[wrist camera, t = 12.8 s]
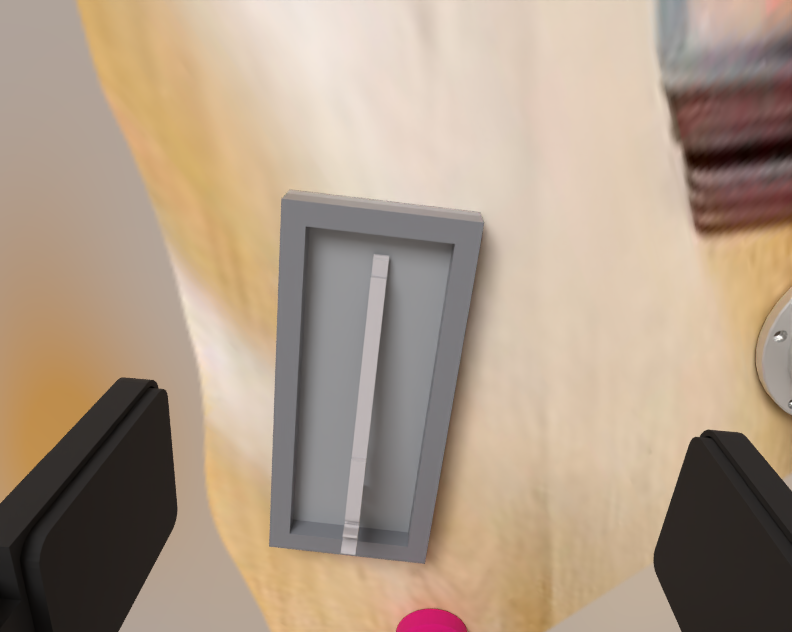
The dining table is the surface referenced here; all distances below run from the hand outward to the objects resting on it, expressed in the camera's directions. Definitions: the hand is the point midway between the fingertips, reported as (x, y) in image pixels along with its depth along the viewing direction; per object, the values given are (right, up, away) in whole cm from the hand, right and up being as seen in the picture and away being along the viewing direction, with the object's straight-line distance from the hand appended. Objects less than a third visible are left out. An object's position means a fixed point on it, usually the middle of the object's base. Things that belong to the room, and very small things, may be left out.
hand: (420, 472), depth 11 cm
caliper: (-2, -2, +32) cm, 32 cm away
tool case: (-3, -2, +32) cm, 33 cm away
